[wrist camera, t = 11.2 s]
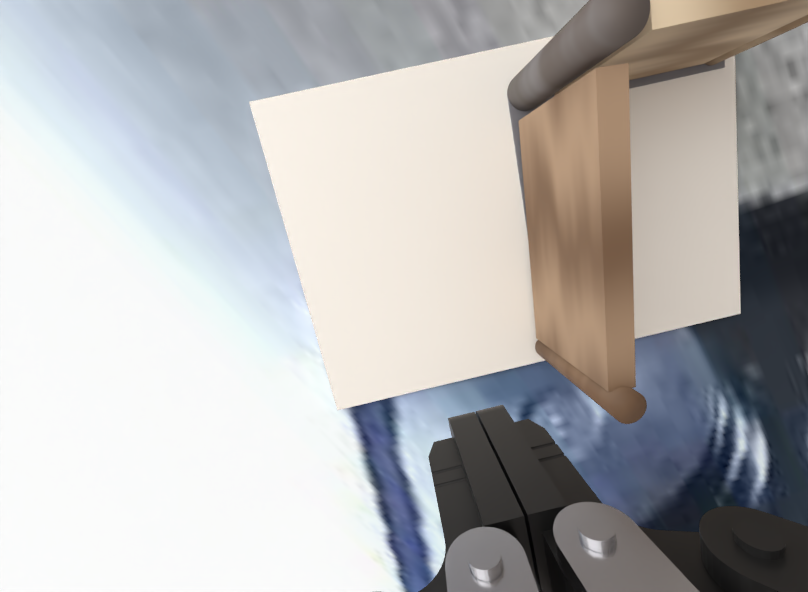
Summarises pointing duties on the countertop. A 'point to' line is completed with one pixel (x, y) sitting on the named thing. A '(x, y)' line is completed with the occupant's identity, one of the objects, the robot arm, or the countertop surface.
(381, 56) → the countertop surface
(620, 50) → the fence fixed
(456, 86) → the card
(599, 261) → the fence hinged panel
